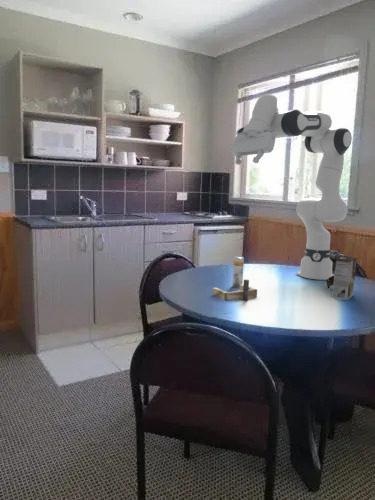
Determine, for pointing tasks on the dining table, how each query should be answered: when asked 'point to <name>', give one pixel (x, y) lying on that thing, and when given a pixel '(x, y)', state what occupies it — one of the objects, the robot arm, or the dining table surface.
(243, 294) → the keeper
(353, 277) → the coffee box
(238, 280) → the silver metal cylinder
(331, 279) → the pottery mug
